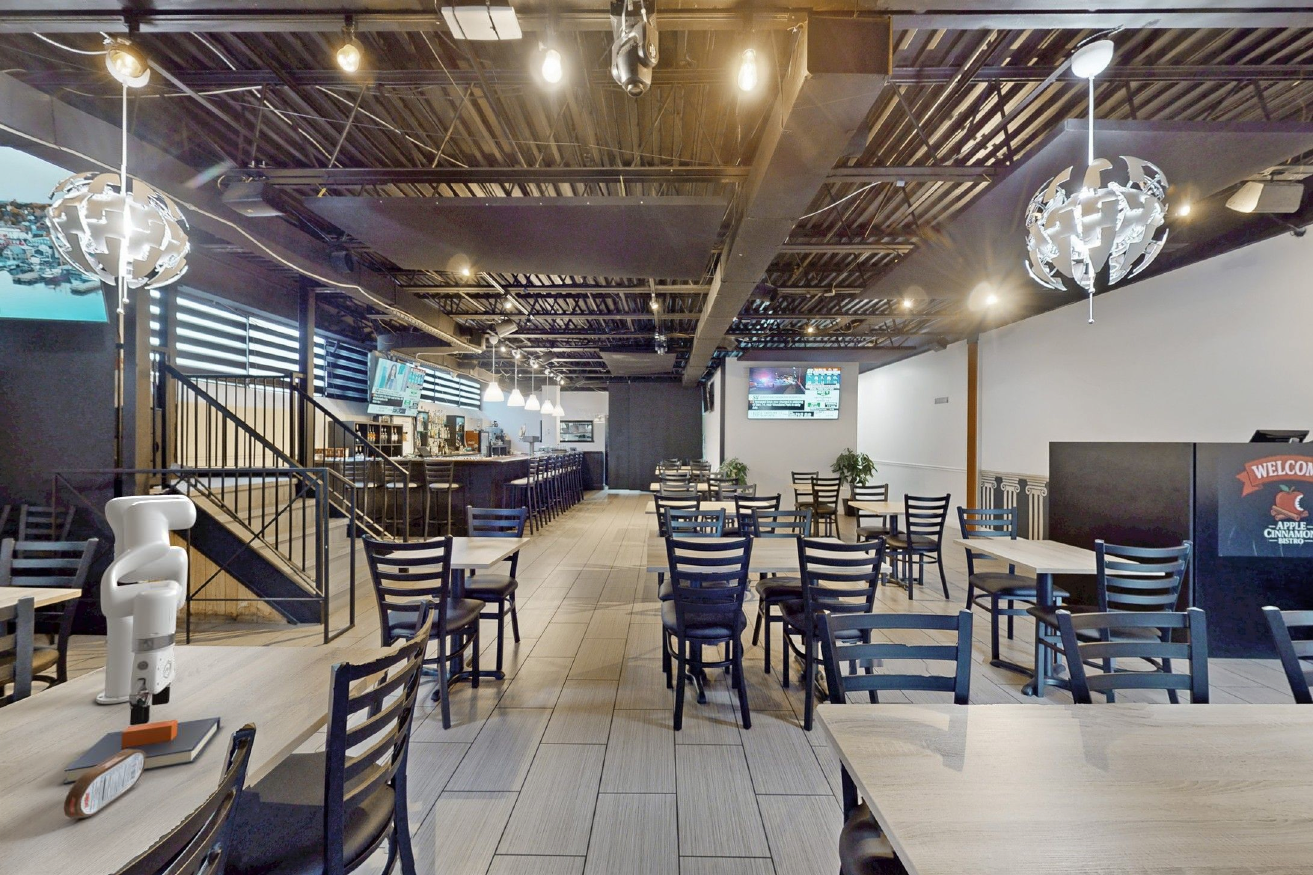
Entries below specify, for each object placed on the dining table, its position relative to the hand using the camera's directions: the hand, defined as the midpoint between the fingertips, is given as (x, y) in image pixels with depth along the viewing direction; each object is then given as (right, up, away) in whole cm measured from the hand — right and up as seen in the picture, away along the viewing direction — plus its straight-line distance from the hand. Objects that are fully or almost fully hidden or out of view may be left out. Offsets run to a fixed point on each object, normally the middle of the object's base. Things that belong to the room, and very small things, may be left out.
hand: (150, 713), depth 125 cm
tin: (+9, -9, -18) cm, 22 cm away
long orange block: (0, -6, -1) cm, 6 cm away
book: (0, -9, -1) cm, 9 cm away
